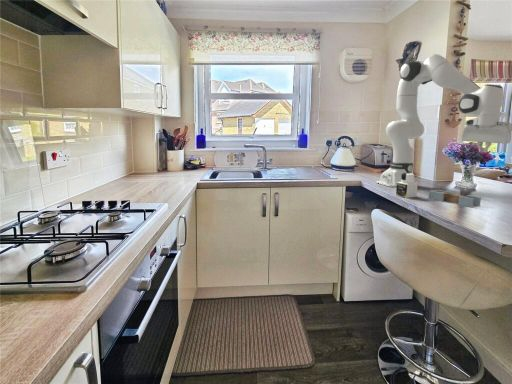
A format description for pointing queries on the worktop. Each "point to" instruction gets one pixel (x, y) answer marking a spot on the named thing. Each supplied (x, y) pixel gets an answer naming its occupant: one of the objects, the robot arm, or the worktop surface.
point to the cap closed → (437, 195)
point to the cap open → (469, 201)
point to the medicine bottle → (407, 186)
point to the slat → (451, 197)
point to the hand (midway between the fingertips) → (482, 152)
